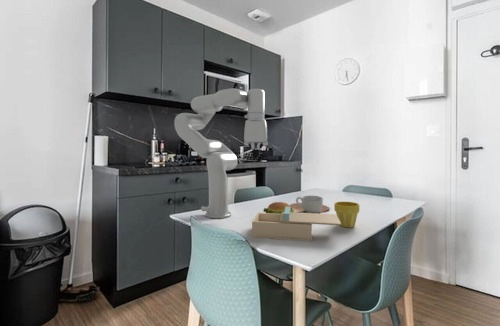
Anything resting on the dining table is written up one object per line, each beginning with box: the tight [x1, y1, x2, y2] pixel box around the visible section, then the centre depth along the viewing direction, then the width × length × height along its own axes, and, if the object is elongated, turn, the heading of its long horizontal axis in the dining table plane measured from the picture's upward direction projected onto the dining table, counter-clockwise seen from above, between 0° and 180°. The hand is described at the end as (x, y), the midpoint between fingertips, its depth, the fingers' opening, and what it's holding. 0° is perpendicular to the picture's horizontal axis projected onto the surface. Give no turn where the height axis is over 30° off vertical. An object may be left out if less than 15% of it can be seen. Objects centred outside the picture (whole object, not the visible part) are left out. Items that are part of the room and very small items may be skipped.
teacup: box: [295, 195, 324, 214], centre depth 144 cm, size 14×11×8 cm
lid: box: [280, 207, 341, 226], centre depth 105 cm, size 22×14×3 cm, turn 80°
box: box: [251, 212, 313, 242], centre depth 107 cm, size 22×14×6 cm, turn 80°
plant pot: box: [333, 201, 360, 229], centre depth 118 cm, size 10×10×10 cm
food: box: [262, 201, 295, 214], centre depth 129 cm, size 14×14×8 cm
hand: (255, 158), depth 122 cm, fingers closed
